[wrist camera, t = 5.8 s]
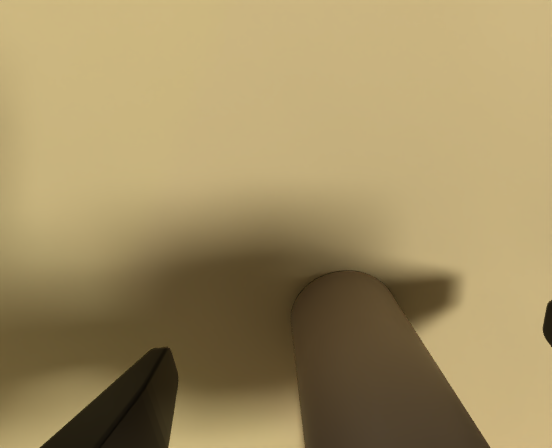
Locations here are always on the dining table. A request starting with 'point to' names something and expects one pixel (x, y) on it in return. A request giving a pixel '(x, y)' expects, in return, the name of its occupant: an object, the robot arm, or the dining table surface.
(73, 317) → the dining table surface
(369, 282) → the tethered block
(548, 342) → the robot arm
